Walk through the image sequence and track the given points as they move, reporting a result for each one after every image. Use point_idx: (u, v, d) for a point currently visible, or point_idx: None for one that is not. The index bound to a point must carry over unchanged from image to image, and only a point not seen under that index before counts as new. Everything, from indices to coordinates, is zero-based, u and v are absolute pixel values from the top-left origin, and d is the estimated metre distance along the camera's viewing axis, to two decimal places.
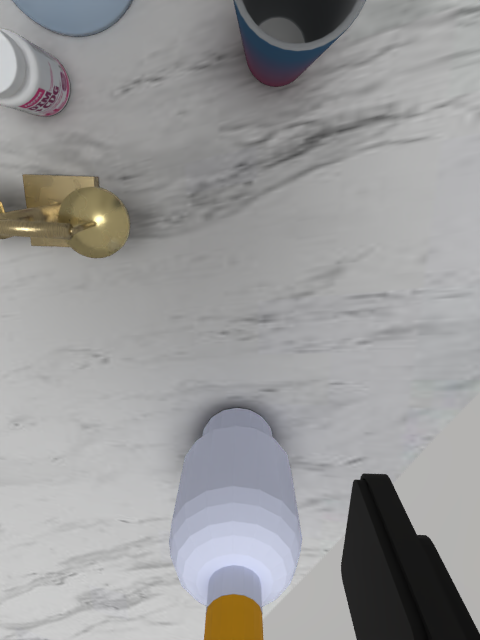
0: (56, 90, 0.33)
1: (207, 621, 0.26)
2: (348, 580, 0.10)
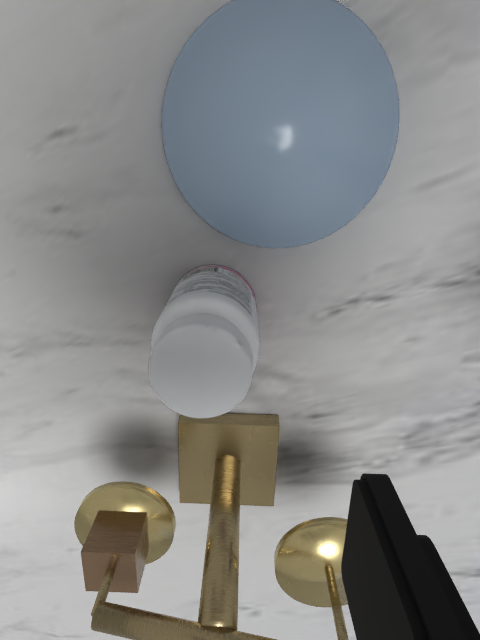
0: None
1: None
2: (348, 580, 0.10)
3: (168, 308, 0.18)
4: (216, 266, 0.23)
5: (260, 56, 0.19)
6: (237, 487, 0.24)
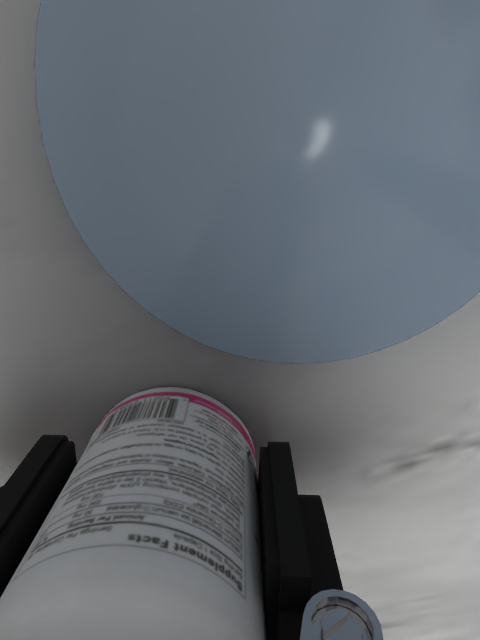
0: None
1: None
2: None
3: (7, 607, 0.06)
4: (175, 395, 0.11)
5: None
6: None
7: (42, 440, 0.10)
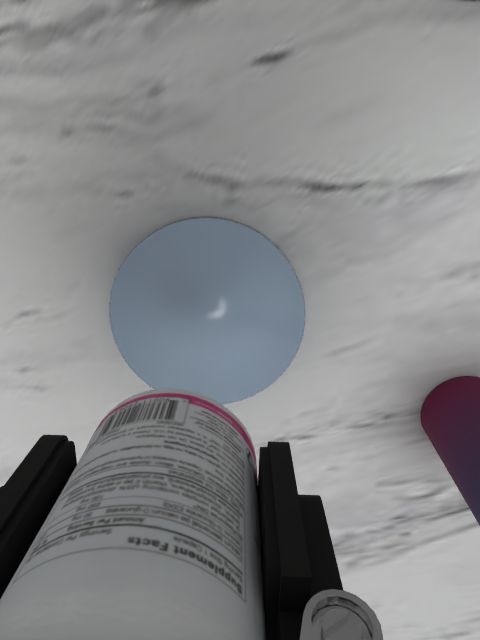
0: None
1: None
2: None
3: (6, 610, 0.06)
4: (174, 396, 0.11)
5: (188, 266, 0.23)
6: None
7: (42, 440, 0.10)
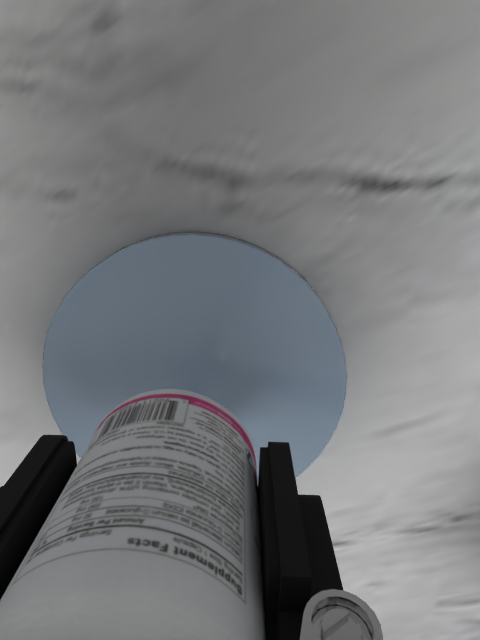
0: None
1: None
2: None
3: (6, 611, 0.06)
4: (174, 397, 0.11)
5: (163, 310, 0.15)
6: None
7: (42, 440, 0.10)
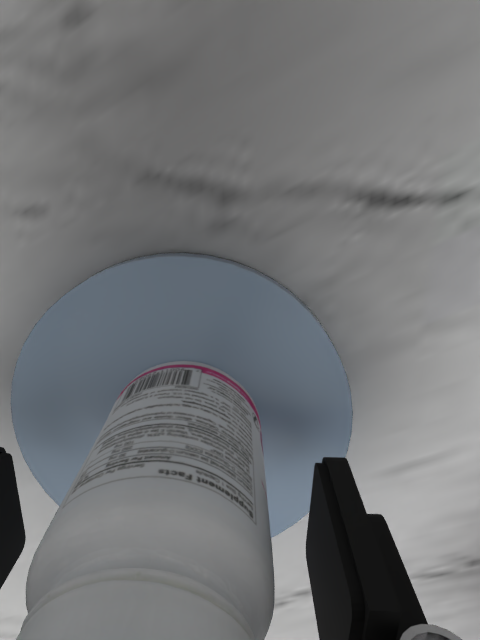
0: None
1: None
2: (310, 558, 0.10)
3: (61, 525, 0.08)
4: (188, 367, 0.12)
5: (146, 341, 0.13)
6: None
7: None
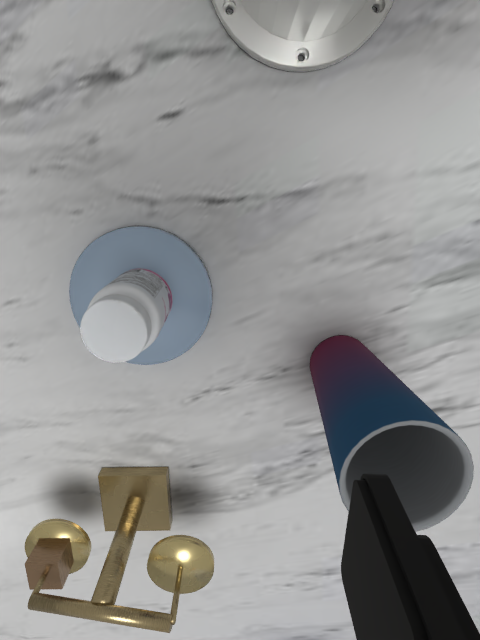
0: (166, 318, 0.31)
1: None
2: (348, 580, 0.10)
3: None
4: (140, 269, 0.32)
5: (123, 261, 0.32)
6: (135, 518, 0.36)
7: None
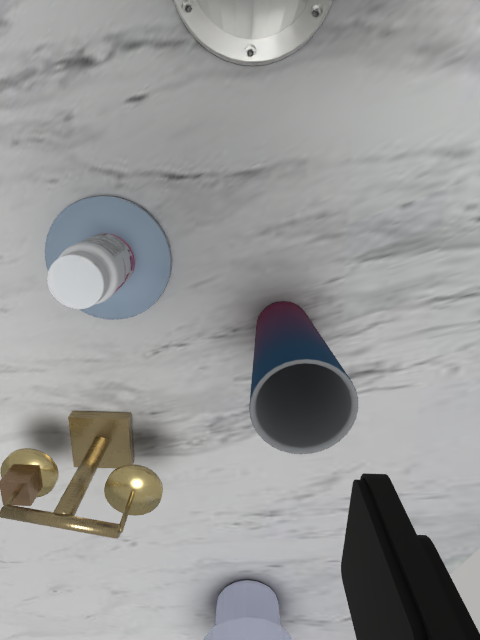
0: (127, 276, 0.35)
1: None
2: (348, 580, 0.10)
3: None
4: (106, 233, 0.36)
5: (93, 226, 0.37)
6: (99, 454, 0.42)
7: None
